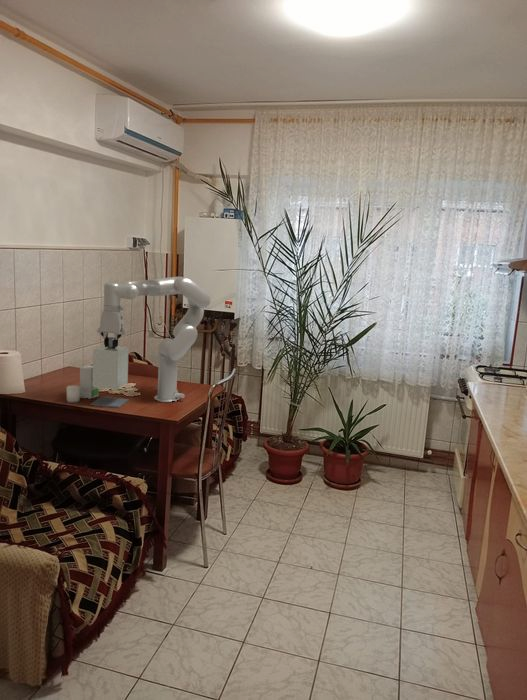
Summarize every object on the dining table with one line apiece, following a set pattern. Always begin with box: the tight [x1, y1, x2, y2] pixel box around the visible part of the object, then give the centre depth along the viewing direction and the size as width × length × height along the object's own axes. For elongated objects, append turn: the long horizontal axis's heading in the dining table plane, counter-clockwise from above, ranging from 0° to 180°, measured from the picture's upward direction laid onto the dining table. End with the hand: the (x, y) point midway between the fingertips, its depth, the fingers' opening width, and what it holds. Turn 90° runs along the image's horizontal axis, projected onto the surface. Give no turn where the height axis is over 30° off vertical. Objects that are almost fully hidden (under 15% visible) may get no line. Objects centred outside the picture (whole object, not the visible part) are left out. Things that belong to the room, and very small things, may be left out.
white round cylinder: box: [66, 384, 81, 403], centre depth 262 cm, size 6×6×7 cm
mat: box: [90, 396, 130, 409], centre depth 262 cm, size 14×14×1 cm
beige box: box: [92, 336, 130, 390], centre depth 259 cm, size 12×13×23 cm
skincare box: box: [79, 364, 100, 400], centre depth 270 cm, size 8×7×16 cm
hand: (111, 346), depth 258 cm, fingers closed on beige box, 3 cm apart
